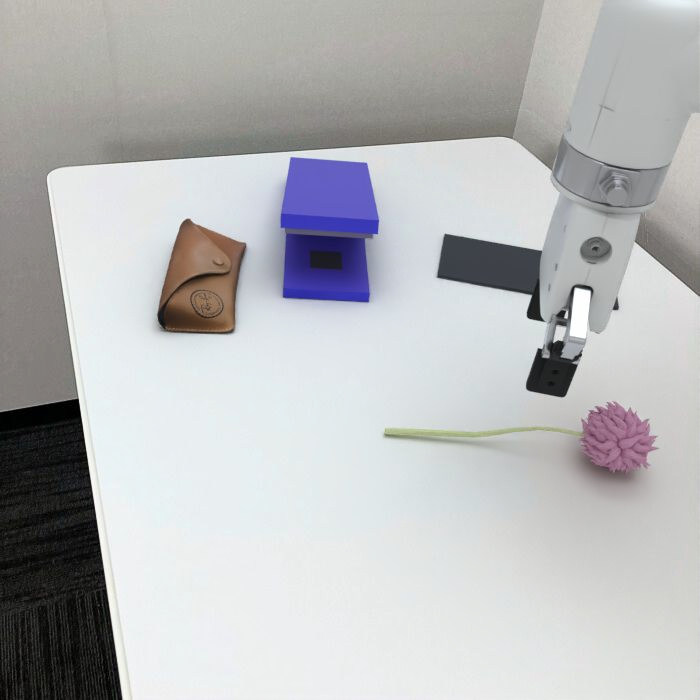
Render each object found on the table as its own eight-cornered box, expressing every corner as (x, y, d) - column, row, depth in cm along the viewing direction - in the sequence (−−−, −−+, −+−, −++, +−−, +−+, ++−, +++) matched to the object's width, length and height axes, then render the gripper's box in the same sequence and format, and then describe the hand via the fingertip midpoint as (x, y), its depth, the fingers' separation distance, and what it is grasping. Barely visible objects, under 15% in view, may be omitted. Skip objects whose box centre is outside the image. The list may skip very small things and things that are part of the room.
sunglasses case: (239, 331, 82) (205, 285, 78) (183, 354, 84) (146, 310, 80) (248, 240, 96) (219, 197, 92) (199, 262, 98) (169, 221, 94)
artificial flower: (385, 490, 72) (661, 489, 70) (382, 429, 68) (674, 426, 66) (386, 446, 77) (641, 445, 76) (384, 388, 74) (652, 385, 72)
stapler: (277, 297, 88) (280, 222, 82) (283, 180, 110) (286, 114, 104) (376, 302, 89) (387, 229, 83) (364, 185, 111) (371, 120, 105)
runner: (611, 265, 101) (612, 263, 100) (618, 310, 93) (619, 307, 93) (444, 236, 102) (444, 233, 102) (437, 277, 95) (437, 274, 94)
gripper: (680, 241, 48) (594, 434, 58) (648, 129, 61) (583, 304, 72) (558, 219, 48) (496, 414, 59) (553, 113, 61) (502, 288, 72)
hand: (544, 354), depth 65 cm, fingers open, 9 cm apart
